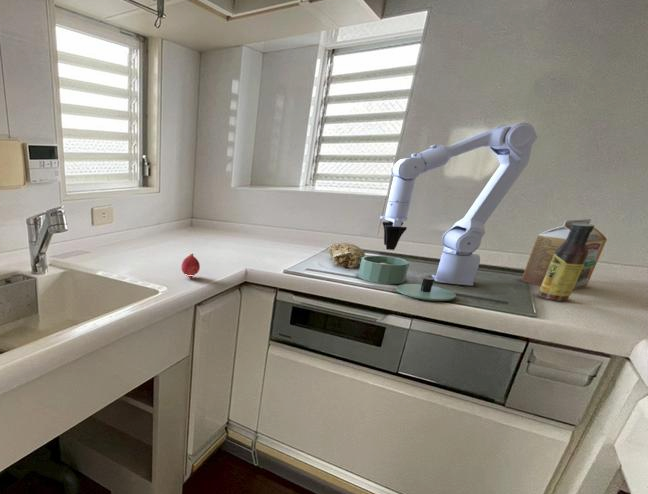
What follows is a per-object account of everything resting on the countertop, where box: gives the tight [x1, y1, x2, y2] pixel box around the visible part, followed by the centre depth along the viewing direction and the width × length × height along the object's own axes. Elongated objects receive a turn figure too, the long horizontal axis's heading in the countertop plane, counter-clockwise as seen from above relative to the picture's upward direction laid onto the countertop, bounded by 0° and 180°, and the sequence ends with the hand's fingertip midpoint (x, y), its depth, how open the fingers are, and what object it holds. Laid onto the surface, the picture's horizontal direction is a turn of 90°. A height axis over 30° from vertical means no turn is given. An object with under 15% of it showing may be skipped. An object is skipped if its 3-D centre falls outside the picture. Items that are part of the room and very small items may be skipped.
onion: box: [181, 252, 201, 279], centre depth 128 cm, size 6×6×8 cm
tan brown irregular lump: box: [327, 242, 366, 269], centre depth 147 cm, size 13×8×20 cm
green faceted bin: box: [357, 255, 410, 285], centre depth 127 cm, size 13×13×6 cm
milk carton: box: [520, 218, 608, 290], centre depth 118 cm, size 11×11×19 cm
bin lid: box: [395, 276, 457, 302], centre depth 112 cm, size 14×14×5 cm
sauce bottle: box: [538, 223, 595, 302], centre depth 105 cm, size 6×6×20 cm
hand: (389, 247), depth 125 cm, fingers open, 7 cm apart
